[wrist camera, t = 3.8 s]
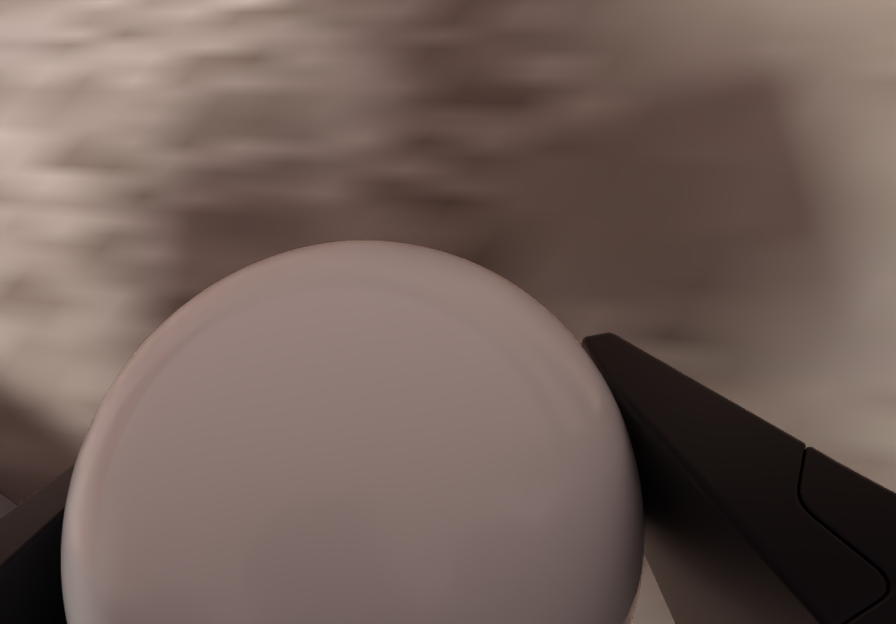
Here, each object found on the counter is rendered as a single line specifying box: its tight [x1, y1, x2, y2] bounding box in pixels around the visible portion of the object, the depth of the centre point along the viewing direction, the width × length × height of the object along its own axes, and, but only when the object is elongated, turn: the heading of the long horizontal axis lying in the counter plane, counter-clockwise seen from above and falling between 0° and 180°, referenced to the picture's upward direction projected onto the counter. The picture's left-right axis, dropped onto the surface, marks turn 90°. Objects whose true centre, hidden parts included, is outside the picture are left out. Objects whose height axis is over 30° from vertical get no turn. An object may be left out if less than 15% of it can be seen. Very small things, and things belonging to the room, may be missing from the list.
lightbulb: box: [60, 240, 645, 624], centre depth 10 cm, size 6×6×11 cm
